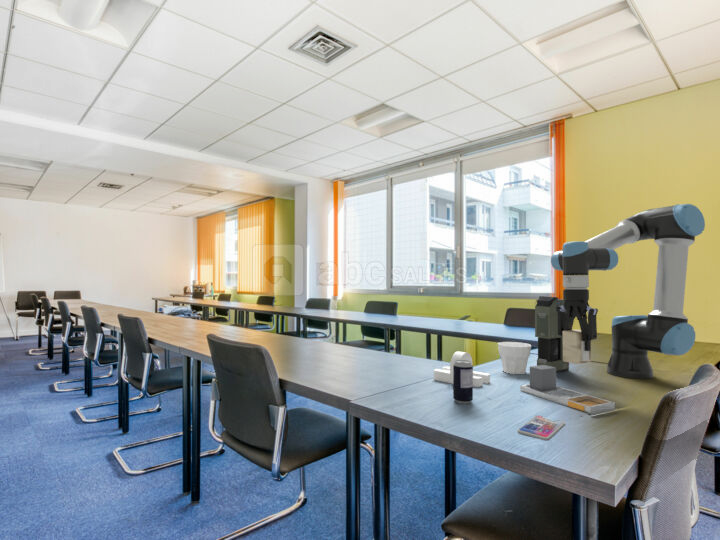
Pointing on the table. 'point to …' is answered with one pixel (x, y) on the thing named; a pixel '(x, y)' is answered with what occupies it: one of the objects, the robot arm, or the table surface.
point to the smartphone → (541, 428)
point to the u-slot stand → (447, 372)
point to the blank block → (543, 377)
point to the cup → (514, 356)
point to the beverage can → (463, 381)
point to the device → (549, 334)
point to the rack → (573, 399)
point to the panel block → (573, 347)
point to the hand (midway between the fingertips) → (577, 358)
